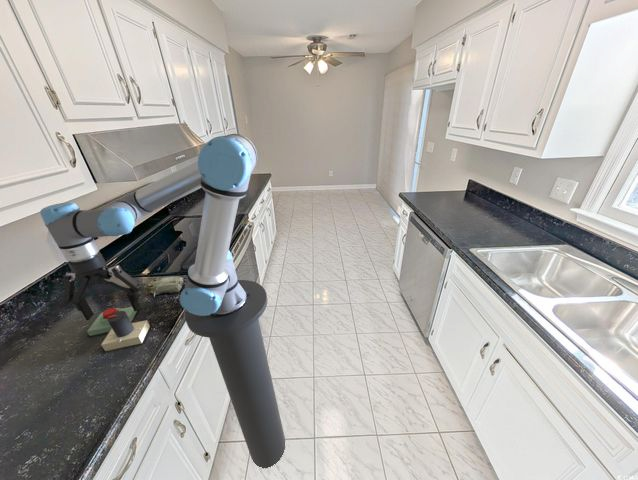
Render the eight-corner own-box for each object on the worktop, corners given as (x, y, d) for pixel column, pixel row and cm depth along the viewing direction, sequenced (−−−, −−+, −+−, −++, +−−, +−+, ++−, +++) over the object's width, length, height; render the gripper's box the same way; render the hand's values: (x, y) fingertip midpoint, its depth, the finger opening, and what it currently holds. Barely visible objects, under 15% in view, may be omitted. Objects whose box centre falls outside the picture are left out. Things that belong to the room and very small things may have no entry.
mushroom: (146, 298, 107) (141, 288, 105) (156, 285, 116) (151, 275, 113) (181, 294, 108) (177, 283, 106) (188, 281, 117) (185, 271, 115)
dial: (136, 324, 89) (128, 308, 86) (130, 335, 84) (121, 318, 81) (120, 328, 88) (111, 311, 85) (113, 338, 84) (103, 322, 80)
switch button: (119, 310, 96) (117, 306, 95) (114, 317, 92) (112, 313, 91) (107, 312, 95) (105, 309, 94) (102, 320, 91) (100, 316, 91)
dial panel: (150, 325, 93) (147, 318, 91) (141, 344, 85) (137, 337, 83) (117, 332, 91) (113, 325, 89) (104, 352, 82) (99, 345, 81)
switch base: (138, 310, 101) (134, 302, 99) (127, 328, 92) (123, 320, 90) (103, 316, 98) (99, 308, 97) (89, 336, 90) (84, 327, 88)
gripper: (22, 270, 67) (62, 329, 77) (126, 255, 72) (152, 312, 82) (42, 257, 74) (76, 313, 83) (136, 244, 79) (159, 298, 88)
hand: (114, 312), depth 83 cm, fingers open, 13 cm apart
